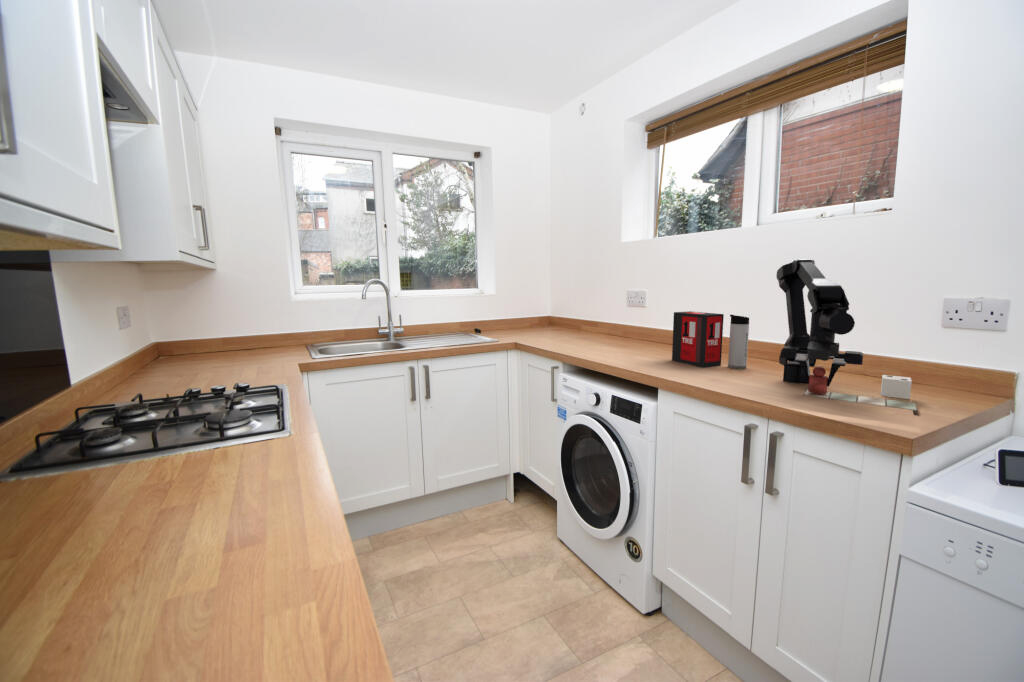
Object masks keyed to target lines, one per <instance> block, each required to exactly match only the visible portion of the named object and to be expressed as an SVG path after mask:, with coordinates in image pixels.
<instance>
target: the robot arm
mask: <svg viewBox="0 0 1024 682" xmlns="http://www.w3.org/2000/svg"><path fill="white" fill-rule="evenodd" d="M776 280H777V281H778V287H779V288H780V289H781V290H782V291H783V292H784V293H785V300H786V301H785V302H786V311H787V323H788V332H789V335H788V338H787V339H786V341H785V343H784V344H783V345H784V346H783V348H781V349H780V355H779V357H778V363H779V364H780V365H782V366H783V378H782V382H787V383H792V384H807V385H809V375H811V370H810V367H811V368H815V367H816V364H817V363H816V362H817V360H819V361H820V360H821V361H823V362H824V361H825V362H826V361H830V360H832V362H831V366H830V370H829V374H828V382H827V388H828V387H830V385H831V383H832V381H833V379H834V376H836V375H835V374H836V373H837V372H838V370H839V369H840V367H846V365H847V364H848V365H859V366H860V365H861V366H862V365H863V360H864V353H863V352H862V351H855V350H853V351H852V350H845V352H840V342H835V339H836V335H841V336H842V335H846V334H849V333H851V332H852V330H853V329H854V327H855V325H856V322H855V319H854V317H853V315H851V314H850V313H848V311H849V310H850V307H849V306H850V302H849V300H848V297H847V295H846V292H845V290H844V288H843V287H842V285H841V284H839V283H837V282H836V281H833V280H829V279H827V278H826V276H825V275H824V274H823V273H822V271H821V270H820V269H819V268H818V267H817V266H816V261H815V260H814V259H811V258H798V259H796V260H795V259H794V260H793V261H792V262H788V263H786V264H782V265H781V266H780V267H779V268H778V269H777V271H776ZM805 287H806V288H807V290H808V293H807V295H806V296H807V299H808V302H809V305H810V306H811V309H810V311H809V312H810V313H811V319H810V330H809V333H808V326H807V318H806V309H805V308H806V307H805V306H806V305H805V298H804V288H805Z"/></svg>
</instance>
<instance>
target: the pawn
mask: <svg viewBox="0 0 1024 682" xmlns="http://www.w3.org/2000/svg"><path fill="white" fill-rule="evenodd" d="M826 373H827V372H826V369H825V368H824V367H823V366H814V367H813V369H812V374H810V375H809V384H807V385H808V386H807V389H808V391H809V392H811V393H816V394H826V393H827V392H828V386H827V382H828V378H829V376H827V375H826Z"/></svg>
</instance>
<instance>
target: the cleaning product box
mask: <svg viewBox="0 0 1024 682" xmlns="http://www.w3.org/2000/svg"><path fill="white" fill-rule="evenodd" d="M724 315H725V314H723V313H713V312H702V311H701V312H700V311H674V312H673V323H672V324H673V326H672V327H673V328H672V349H671V351H672V352H671V361H672V362H677V363H680V364H685V365H689V366H694V367H697V368H702V369H706V368H713V367H714V368H715V367H721V366H722V352H723V351H722V350H723V336H724V335H723V334H724V319H725V318H724V317H725V316H724Z"/></svg>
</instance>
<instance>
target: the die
mask: <svg viewBox="0 0 1024 682" xmlns="http://www.w3.org/2000/svg"><path fill="white" fill-rule="evenodd" d="M880 385H881V386H880V396H881V397H889V398H896V399H897V398H898V399H903V400H910V399H911V391H912V385H913V381H912V377H910V376H909V377H908V376H899V375H887V374H882V376H881V384H880Z"/></svg>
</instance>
